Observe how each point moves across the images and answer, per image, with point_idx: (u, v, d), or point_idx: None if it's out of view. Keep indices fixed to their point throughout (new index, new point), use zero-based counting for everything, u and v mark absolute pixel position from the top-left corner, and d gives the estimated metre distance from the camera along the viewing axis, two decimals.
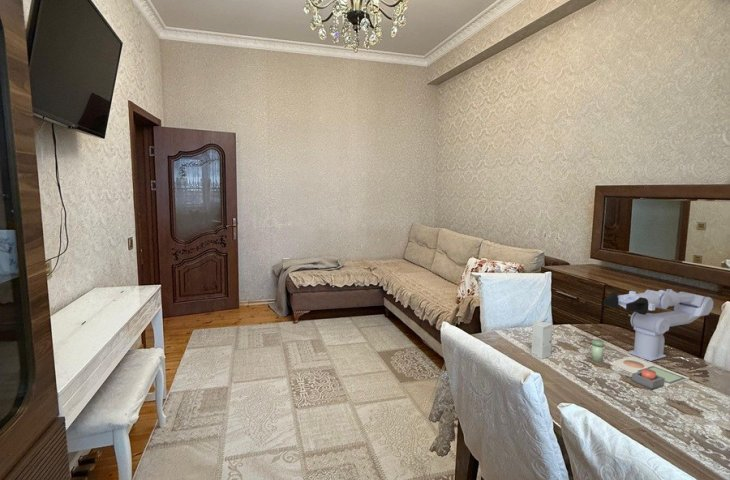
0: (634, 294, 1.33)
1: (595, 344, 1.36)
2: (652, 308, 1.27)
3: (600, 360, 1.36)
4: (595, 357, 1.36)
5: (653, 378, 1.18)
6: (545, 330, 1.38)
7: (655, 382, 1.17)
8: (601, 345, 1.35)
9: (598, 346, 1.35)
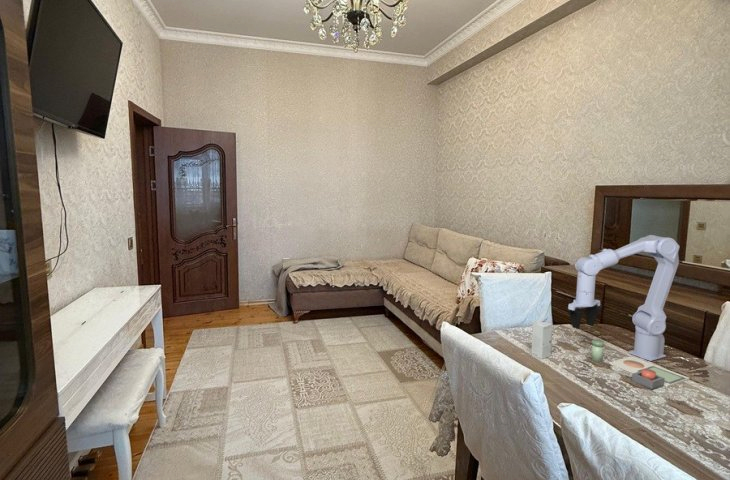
0: None
1: (595, 344, 1.36)
2: (571, 308, 1.38)
3: (600, 360, 1.36)
4: (595, 357, 1.36)
5: (653, 378, 1.18)
6: (545, 330, 1.38)
7: (655, 382, 1.17)
8: (601, 345, 1.35)
9: (598, 346, 1.35)
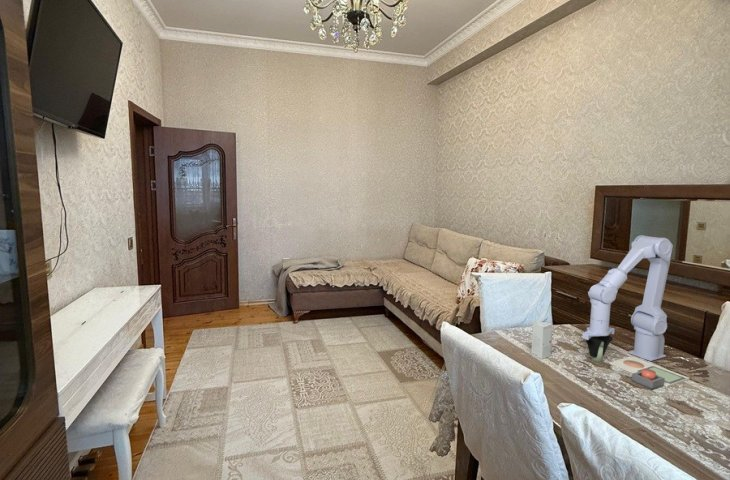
0: None
1: None
2: (585, 338, 1.33)
3: (600, 360, 1.36)
4: None
5: (653, 378, 1.18)
6: (545, 330, 1.38)
7: (655, 382, 1.17)
8: (601, 345, 1.35)
9: None
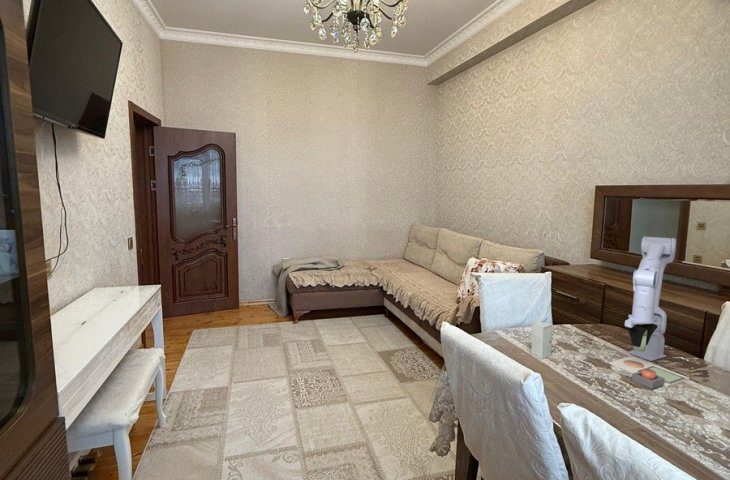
0: None
1: None
2: (628, 325, 1.24)
3: (643, 350, 1.27)
4: (638, 347, 1.27)
5: (653, 378, 1.18)
6: (545, 330, 1.38)
7: (655, 382, 1.17)
8: (645, 333, 1.26)
9: None
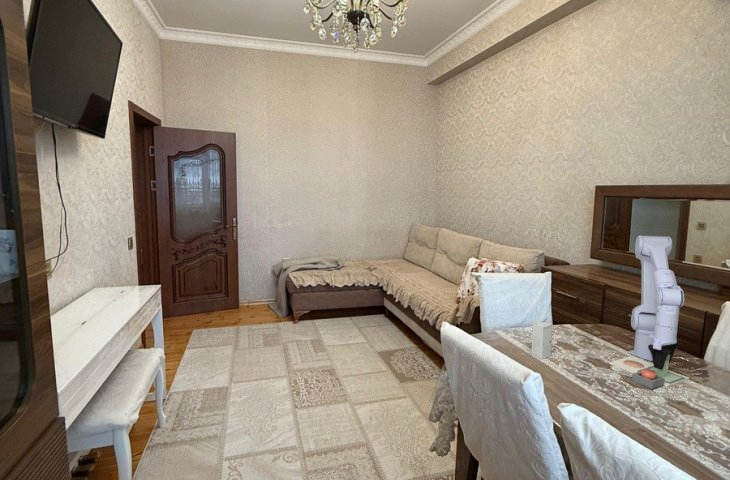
0: None
1: None
2: (657, 348, 1.19)
3: (666, 374, 1.24)
4: (662, 372, 1.23)
5: (653, 378, 1.18)
6: (545, 330, 1.38)
7: (655, 382, 1.17)
8: (668, 358, 1.23)
9: None
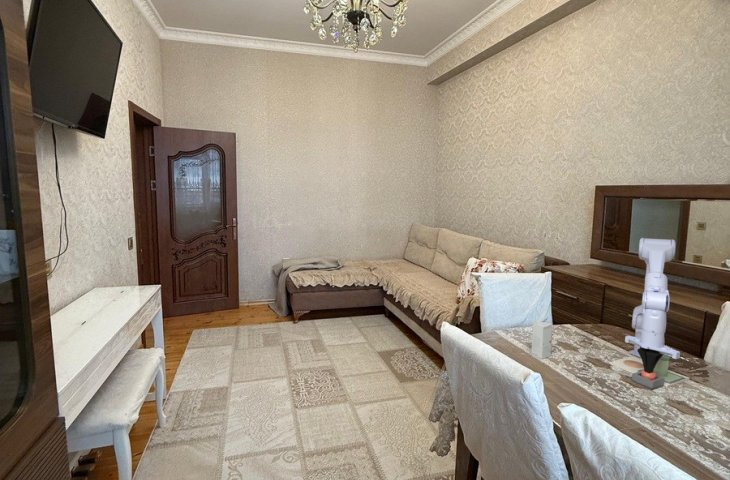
0: None
1: (662, 358, 1.23)
2: (678, 356, 1.13)
3: (666, 374, 1.24)
4: (662, 372, 1.23)
5: (653, 378, 1.18)
6: (545, 330, 1.38)
7: (655, 382, 1.17)
8: (668, 358, 1.23)
9: (665, 359, 1.23)
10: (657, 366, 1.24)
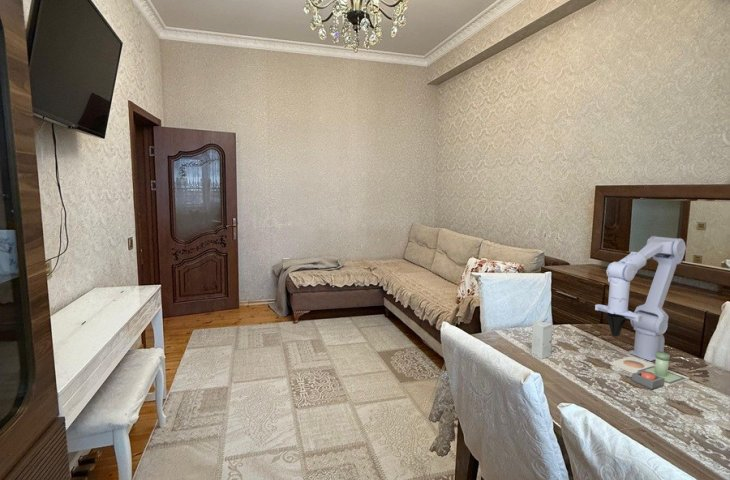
0: (614, 313, 1.30)
1: (662, 358, 1.23)
2: (640, 320, 1.25)
3: (666, 374, 1.24)
4: (662, 372, 1.23)
5: None
6: (545, 330, 1.38)
7: (655, 382, 1.17)
8: (668, 358, 1.23)
9: (665, 359, 1.23)
10: (657, 366, 1.24)
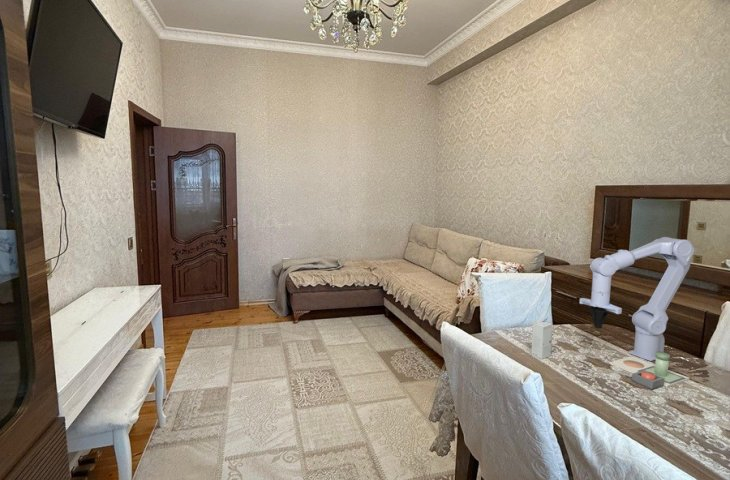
0: (596, 306, 1.38)
1: (662, 358, 1.23)
2: (620, 312, 1.33)
3: (666, 374, 1.24)
4: (662, 372, 1.23)
5: None
6: (545, 330, 1.38)
7: (655, 382, 1.17)
8: (668, 358, 1.23)
9: (665, 359, 1.23)
10: (657, 366, 1.24)
